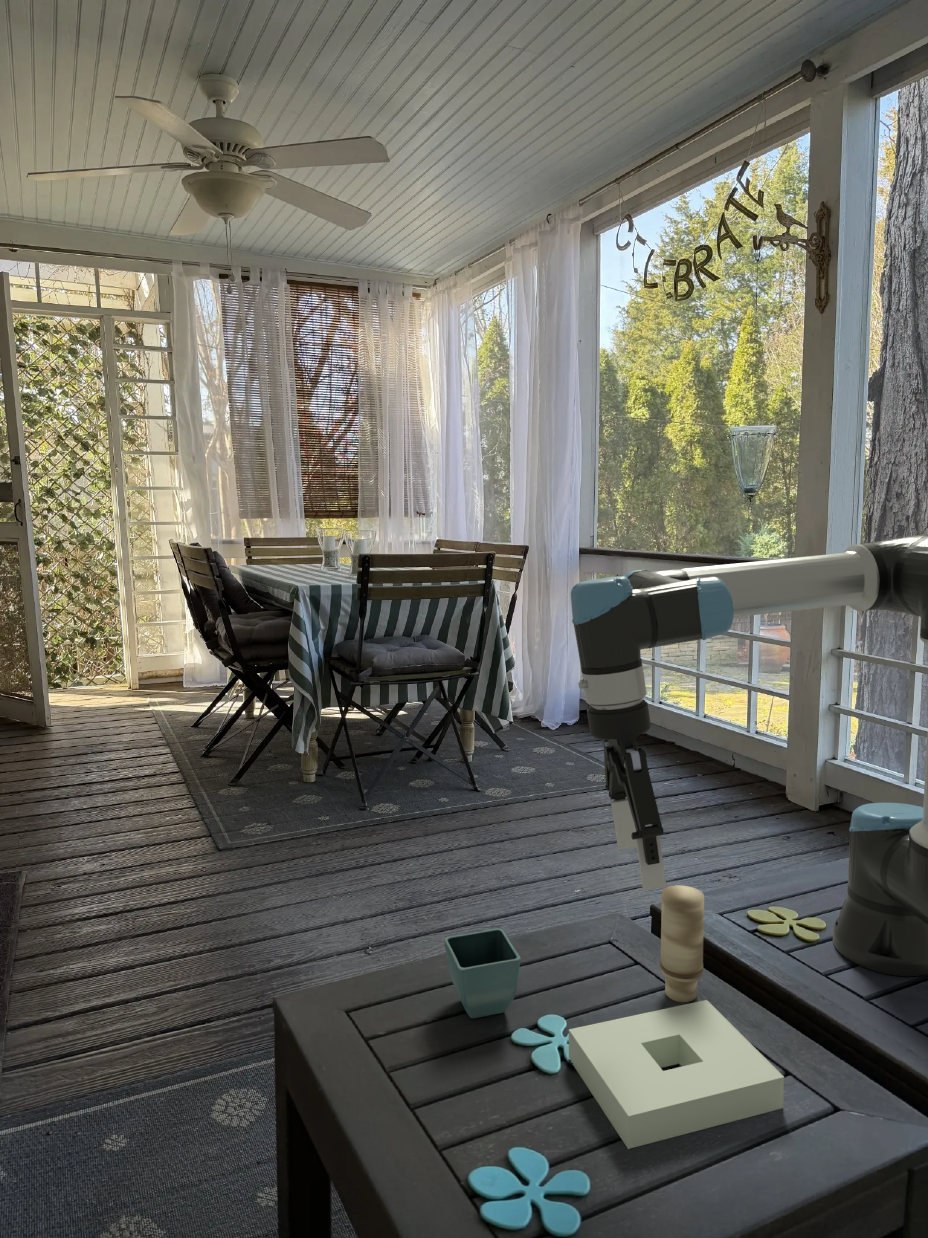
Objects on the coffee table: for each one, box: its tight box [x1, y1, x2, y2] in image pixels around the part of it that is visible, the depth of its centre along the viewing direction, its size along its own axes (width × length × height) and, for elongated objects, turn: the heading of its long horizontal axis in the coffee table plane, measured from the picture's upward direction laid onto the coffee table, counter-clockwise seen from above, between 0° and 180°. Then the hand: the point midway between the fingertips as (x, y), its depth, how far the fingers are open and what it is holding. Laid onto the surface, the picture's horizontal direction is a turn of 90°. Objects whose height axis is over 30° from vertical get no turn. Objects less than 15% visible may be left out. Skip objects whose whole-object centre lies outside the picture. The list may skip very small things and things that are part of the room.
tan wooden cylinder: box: [659, 884, 705, 1003], centre depth 121 cm, size 6×6×15 cm
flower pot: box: [444, 928, 521, 1019], centre depth 120 cm, size 9×9×9 cm
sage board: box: [568, 999, 785, 1150], centre depth 104 cm, size 20×16×4 cm
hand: (640, 866), depth 108 cm, fingers open, 13 cm apart
